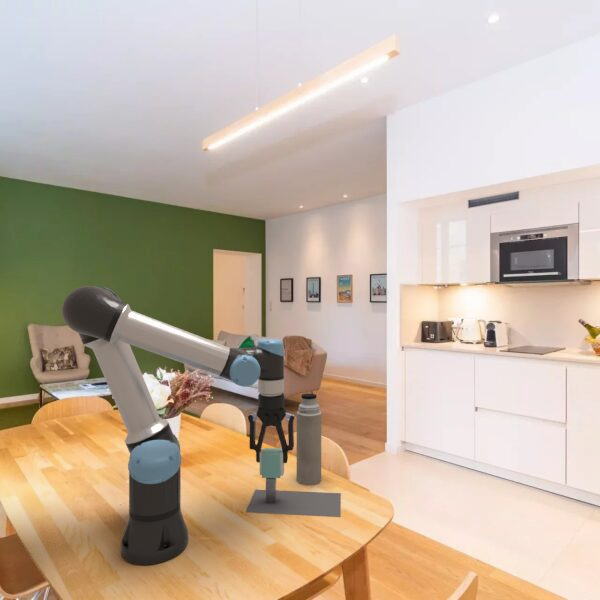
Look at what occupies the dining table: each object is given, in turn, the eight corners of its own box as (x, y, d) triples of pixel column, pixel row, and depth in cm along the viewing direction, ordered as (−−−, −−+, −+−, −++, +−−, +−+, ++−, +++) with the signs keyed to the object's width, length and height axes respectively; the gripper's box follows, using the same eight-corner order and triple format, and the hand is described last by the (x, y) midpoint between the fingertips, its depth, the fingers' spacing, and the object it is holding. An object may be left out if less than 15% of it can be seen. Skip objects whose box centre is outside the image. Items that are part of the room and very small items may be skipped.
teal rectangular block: (279, 478, 121) (279, 455, 121) (261, 477, 122) (261, 454, 122) (282, 470, 127) (282, 448, 126) (265, 470, 127) (264, 448, 127)
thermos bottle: (307, 474, 144) (308, 390, 144) (326, 481, 139) (326, 394, 138) (291, 481, 138) (291, 394, 138) (309, 489, 133) (310, 398, 133)
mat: (340, 518, 115) (340, 517, 115) (245, 513, 118) (245, 512, 118) (340, 494, 129) (340, 493, 129) (255, 490, 132) (255, 489, 132)
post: (274, 503, 123) (274, 479, 123) (265, 503, 123) (265, 478, 123) (276, 499, 125) (276, 475, 125) (267, 498, 125) (267, 474, 125)
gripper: (303, 390, 127) (304, 469, 127) (243, 390, 128) (244, 467, 129) (301, 396, 119) (302, 480, 119) (237, 395, 121) (238, 478, 121)
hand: (272, 473), depth 124 cm, fingers closed on teal rectangular block, 5 cm apart
